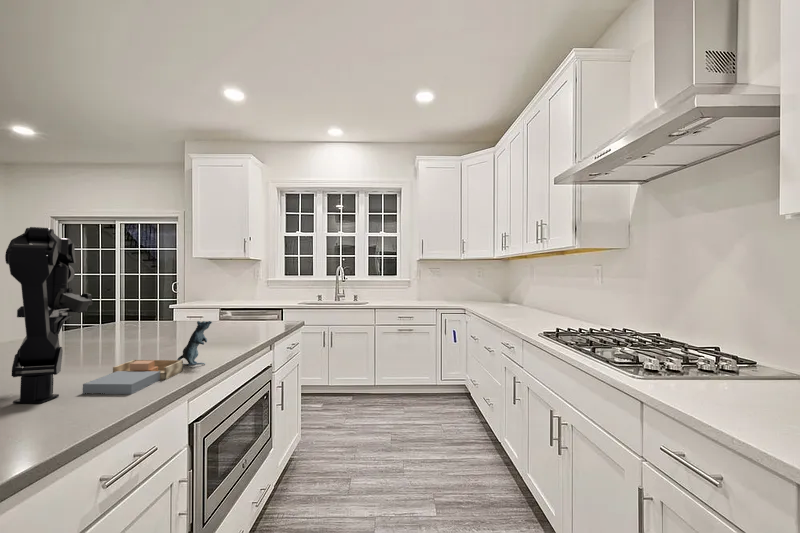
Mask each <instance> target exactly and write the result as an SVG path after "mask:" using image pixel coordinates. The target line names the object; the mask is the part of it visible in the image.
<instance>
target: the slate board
mask: <svg viewBox="0 0 800 533" xmlns="http://www.w3.org/2000/svg"><path fill="white" fill-rule="evenodd" d="M159 381H160V371H116V372H114V373H113V372H112V373H108V374H106V375H103V376H101V377H98V378H95V379H93V380H90V381H88V382H84V383H82V394H83V395H88V394H87V393H92V394H91V395H94V394H93V393H101V394H100V395H133V394H134V393H137V392H139V391H141V390H142V389H144V388H146V387H149V386H150V385H152V384H155V383H156V382H159ZM85 393H86V394H85ZM102 393H103V394H102ZM104 393H105V394H104Z"/></svg>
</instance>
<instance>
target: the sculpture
mask: <svg viewBox="0 0 800 533" xmlns="http://www.w3.org/2000/svg"><path fill="white" fill-rule="evenodd" d="M196 324H197V325H196V328H195V330H194V331H193V332H192V333H191V335H190V338H189V340H188V343H187V344H186V346H185V347H184V348H183V350H182V354H181V355H179V357H178V358H176V360H183V359H185V360H186V361H187V363H183V366H184V367H189V366H196V365H205V364H206V363H205V362H198V361H195V360H196V359H197V358H198V356H199V350H198V346H200V345H205V343H208V339H207V338H206V336H205V334H204V332H205V331H206V330H208V329H209V328H210V326H211V325H212V324H213V322H212V321H211V320H210V321H209V320H208V321H205V320H203V321H202V322H201V321H199V320H197V322H196Z"/></svg>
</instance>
